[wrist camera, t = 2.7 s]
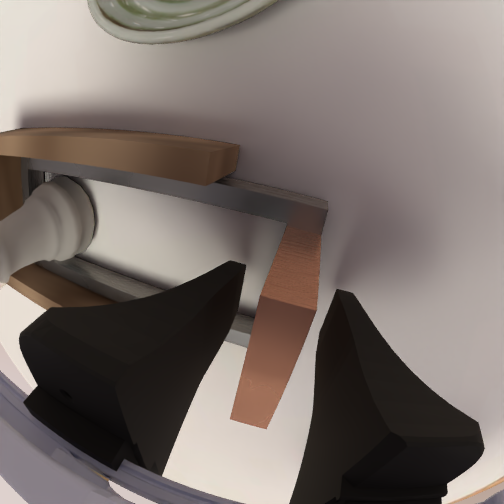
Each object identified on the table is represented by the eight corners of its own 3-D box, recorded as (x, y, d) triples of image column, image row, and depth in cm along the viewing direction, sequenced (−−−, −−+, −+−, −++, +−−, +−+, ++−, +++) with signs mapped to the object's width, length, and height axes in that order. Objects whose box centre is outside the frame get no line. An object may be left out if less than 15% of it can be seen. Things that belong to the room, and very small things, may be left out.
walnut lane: (239, 145, 10) (210, 151, 8) (211, 336, 15) (189, 377, 12) (21, 128, 12) (-17, 136, 10) (31, 261, 16) (2, 280, 14)
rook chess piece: (42, 218, 14) (-59, 276, 7) (59, 158, 12) (-68, 204, 5) (86, 265, 15) (-15, 345, 8) (110, 206, 13) (-26, 285, 6)
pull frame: (327, 201, 10) (330, 273, 5) (285, 339, 13) (260, 440, 8) (36, 149, 12) (-43, 174, 8) (43, 253, 15) (-18, 295, 11)
